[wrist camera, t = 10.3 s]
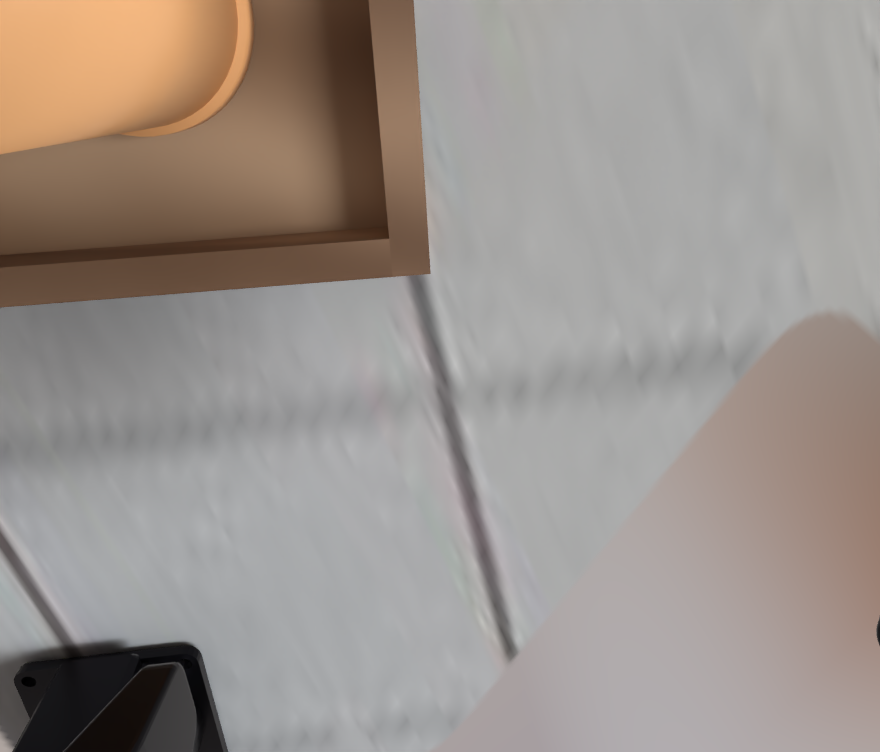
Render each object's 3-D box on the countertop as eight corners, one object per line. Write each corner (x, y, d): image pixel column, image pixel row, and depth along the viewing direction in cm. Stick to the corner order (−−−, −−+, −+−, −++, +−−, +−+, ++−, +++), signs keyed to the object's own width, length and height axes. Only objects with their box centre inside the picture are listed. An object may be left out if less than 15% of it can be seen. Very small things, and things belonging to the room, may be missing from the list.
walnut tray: (424, 254, 19) (430, 273, 17) (-35, 289, 18) (-85, 313, 16) (385, -347, 14) (387, -420, 12) (-261, -336, 13) (-375, -411, 11)
